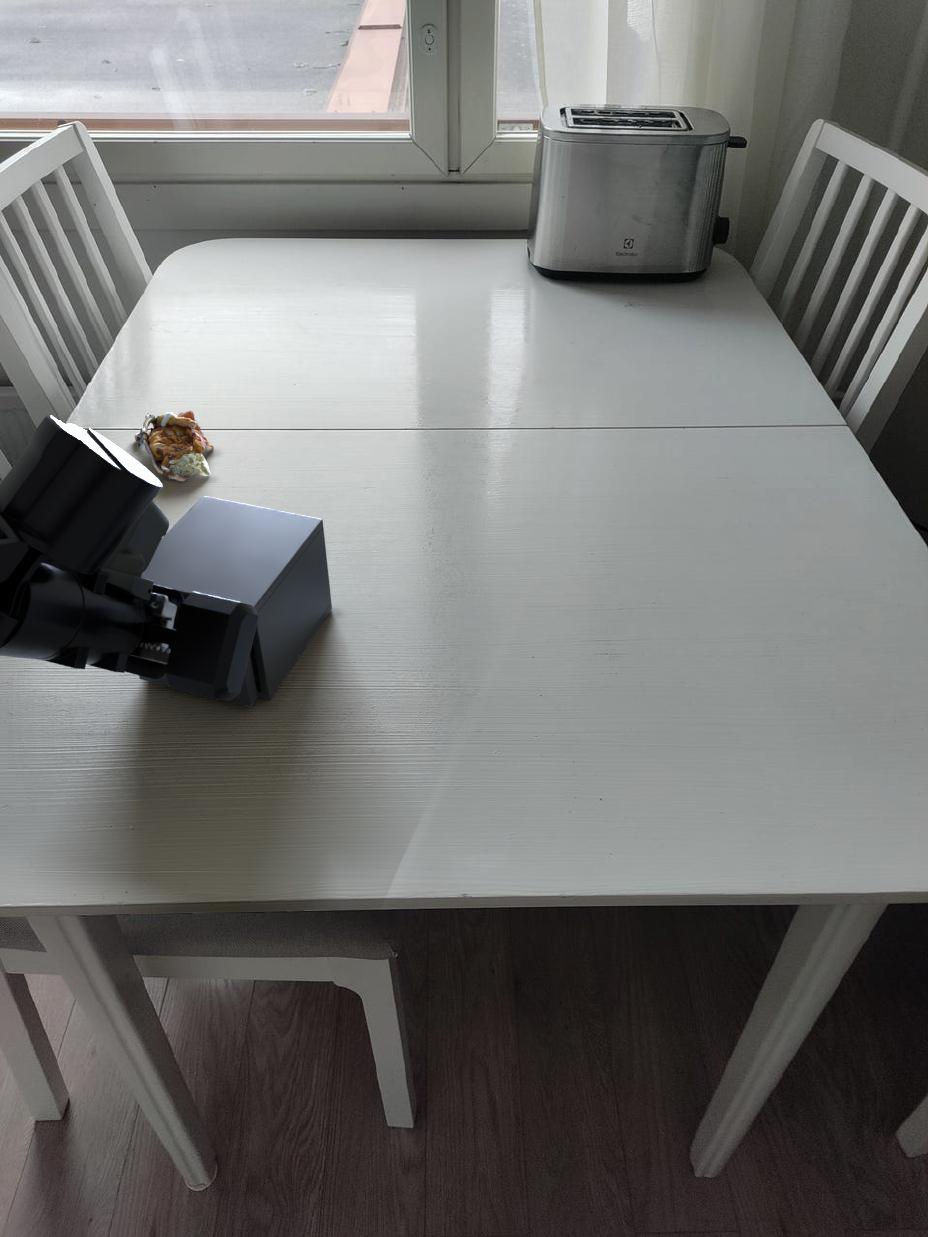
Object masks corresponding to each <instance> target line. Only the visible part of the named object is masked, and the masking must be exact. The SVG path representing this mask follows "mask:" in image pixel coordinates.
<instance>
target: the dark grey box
mask: <svg viewBox="0 0 928 1237" xmlns="http://www.w3.org/2000/svg"><path fill="white" fill-rule="evenodd" d="M326 547H327V546H326V536H325V529H324V520H323V518H318V517H313V516H308V515H302V514H299V513H293V512H287V511H283V510H277V509H273V508H268V507H262V506H257V505H252V504H248V503H243V502H242V503H241V502H237V501H231V500H226V499H223V498H216V497H212V496H208V495H207V496H206V495H202V497H200V498H199V499H198V501H197V502H196V503H195V504H193V505H192V507H191V508H190V509H189V510H188V511H187V512H186V513H185V514H184V515H183V516H182V517H181V518H179V520H177V522H176V523H175V524H174V525H172V527H171V528H170V529H168V531H167V533H166V535H165V536H163V537H162V539H161V541H160V543H159V545H158V547H157V549H156V551H155V553H154V555H153V558H152V560H151V562H150V564H149V566H148V568H147V569H146V570H145V571H144V572H143V573H142V577H141V578H144V579H148V580H152V581H154V585H158V586H163V587H167V588H172V589H176V590H178V591H180V592H181V593H182V595H183V598H184V599H186V598H187V597H188V596H189V595H190V594H191V593H192V592H193V591H194V592H199V593H203V594H208V595H212V596H216V597H221V598H225V599H230V600H234V601H238V602H242V603H246V604H250V605H253V606H254V608H255V609H256V611H257V613H258V615H259V618H258V622H257V626H256V630H255V635H254V639H253V643H252V644H253V649H254V655H255V660H256V666H257V671H258V677H259V681H255V684H256V690H257V695H258V697H257V698H259V699H263V700H267V701H271V699H272V698H273V696H274V695H275V694H276V693H277V690H278V689H279V688H280V686H281V685H282V683H283V682H284V680H285V679H286V678H287V676H288V675H289V673H290V672H291V671H292V668H293V667H294V666H295V665H296V663H297V662H298V660H299V658H300V657H301V655H302V654H303V652H304V651H305V649H307V647H308V645H309V644H310V642H311V640H312V639H313V637H314V636H315V635H316V633H317V632H318V630H319V629H320V627H321V625H322V624H323V622H325V620H326V618H327V617H328V616H329V614H330V612H331V611H332V610H333V604H332V594H331V586H330V576H329V567H328V558H327V557H328V556H327V548H326Z"/></svg>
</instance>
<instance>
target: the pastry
mask: <svg viewBox="0 0 928 1237" xmlns="http://www.w3.org/2000/svg"><path fill="white" fill-rule="evenodd" d="M144 417H145V420H144V421H143V423H142V424H143V425H142V428H141V429H140V431H139V432H137V433H135V434H134V440H135V442H136V443H137V448H140V447H141V446H142V445H143V447H144V451H145V452H147V453H148V454H149V456H150V458H151V462H152V464H153V465H152V468H154V469H155V470H156V472H157V474H162V476H163V477H165V478H167V480H175V481H177V482H185V481H186V480H188V479H190V478H192V477H194V476H199V475H200V476H204V477H209V476H211V475H212V473H211V471H210V470H211V469H210V467H209V466H210V465H209V464H208V462H207V460H206V458H205V456H204V453H205V451H206V447H205V444H206V446H208V447H210V448H211V450H215V448H214V445H213V444H211V443H210V440H209V439H208V438H207V436H205V434H204V433H203V431H202V430H201V426H200V425H199V422H198V421H197V420H196V418H195V414H194V412H193V410H186V411H185V412H182V411H181V412H179V413H178V414H176V413H175V412H171V411H168V412H166V414H161V415H157V416H156V415H155V414H151V413H150V414H149V413H147V414H146V415H145V416H144ZM150 425H152V427H150V430H149V426H150ZM148 431H149V432H148ZM204 443H205V444H204Z"/></svg>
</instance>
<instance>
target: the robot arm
mask: <svg viewBox="0 0 928 1237" xmlns="http://www.w3.org/2000/svg"><path fill="white" fill-rule="evenodd" d="M29 439H30V440H29V442H28V445H27V446H26V448H25V450H24V451H23V452H22V454H21V456H19V458H18V459H17V460H16V462H15V463H14V464H13V465H12V467H11V469H10V470H9V471H8V472H7V474H6V475H5V476H4V478H3V479H2V481H0V657H9V658H18V659H19V658H20V659H29V660H41V661H44V662H48V663H53V664H55V665H60V666H64V667H68V668H71V669H76V670H77V669H79V670H86V665H87V666H90V667H94V668H98V669H102V670H106V671H109V672H114V673H120V674H121V673H122V674H125V673H128V674H132V675H137V676H139V675H140V676H143V677H147V678H151V679H161V678H163V677H165V676H166V679H167V682H168V686H167V687H168V688H169V689H174V690H176V691H180V692H184V693H189V694H192V695H196V696H200V697H205V698H209V699H212V700H217V701H225V700H231V699H233V698H234V697H236V696H237V695H239V694H240V692H241V688H242V684H243V680H244V675H245V671H246V667H247V663H248V659H249V655H250V651H251V647H252V643H253V639H254V635H255V630H256V626H257V622H258V618H259V615H258V613H257V611H256V609H255V608H254V606H253V605H250V604H246V603H242V602H238V601H234V600H230V599H225V598H221V597H216V596H212V595H208V594H203V593H199V592H194V591H193V592H192V593H191V594H190V595H189V596H188V597H187V598H186V600H185V601H184V598H183V595H182V593H181V592H180V591H178V590H176V589H172V588H167V587H163V586H158V585H154V581H152V580H148V579H144V578H141V577H142V573H143V572H144V571H145V570H146V569H147V568H148V566H149V564H150V562H151V560H152V558H153V555H154V553H155V551H156V549H157V547H158V545H159V543H160V541H161V539H162V538H163V537H164V536H165V535H166V533H167V532H168V531H169V528H170V520H169V519H168V517H167V516H166V515H165V513H164V512H163V511H162V509H161V508H160V507H159V506H158V504H157V503H156V502H155V500H154V499H156V497H157V496H158V495H159V493H160V492H161V490H162V489H163V488H164V485H163V483H162V482H161V480H160V479H159V477H157V476H156V475H155V474H154V473H152V471H150V470H149V469H148V468H147V467H146V466H144V465H143V464H142V463H141V462H139V460H137V459H136V458H134V457H133V456H132V455H130V454H129V453H128V452H126V451H125V450H124V449H123V448H121V447H119V446H118V445H116V444H115V443H114V442H112V441H111V440H110V439H108V438H106V437H105V436H103V435H101V434H100V433H98V432H97V431H95V430H93V429H92V428H88V429H87V430H86V429H84V428H82V427H80V426H78V425H76V424H74V423H70V422H69V423H67V424H66V423H64V422H62V421H61V420H60V419H57V418H56V417H54V416H53V415H47V416H46V415H45V417H44V418H43V419H42V421H41V422H40V423H39V425H38V426H37V427H36V429H35V430H34V432H33V433H32V435H31V437H30V438H29Z"/></svg>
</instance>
